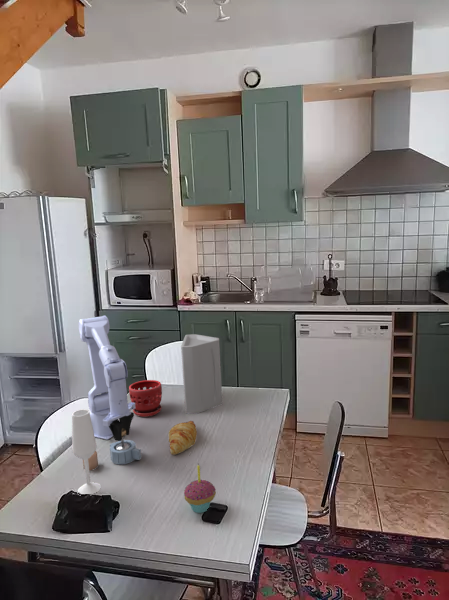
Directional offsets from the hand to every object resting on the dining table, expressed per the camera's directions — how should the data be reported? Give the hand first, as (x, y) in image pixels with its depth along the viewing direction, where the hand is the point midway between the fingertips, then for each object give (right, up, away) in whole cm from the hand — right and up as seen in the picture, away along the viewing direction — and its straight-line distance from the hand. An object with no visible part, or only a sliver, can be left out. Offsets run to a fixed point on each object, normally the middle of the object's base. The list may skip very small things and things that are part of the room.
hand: (122, 437), depth 145 cm
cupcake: (+27, -11, -26) cm, 39 cm away
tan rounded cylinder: (-9, -9, -3) cm, 13 cm away
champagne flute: (-6, -11, -15) cm, 20 cm away
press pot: (0, -7, +1) cm, 7 cm away
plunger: (0, -4, +1) cm, 4 cm away
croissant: (+19, -5, +10) cm, 22 cm away
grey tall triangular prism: (+26, +1, +42) cm, 49 cm away
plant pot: (+2, -1, +36) cm, 36 cm away
